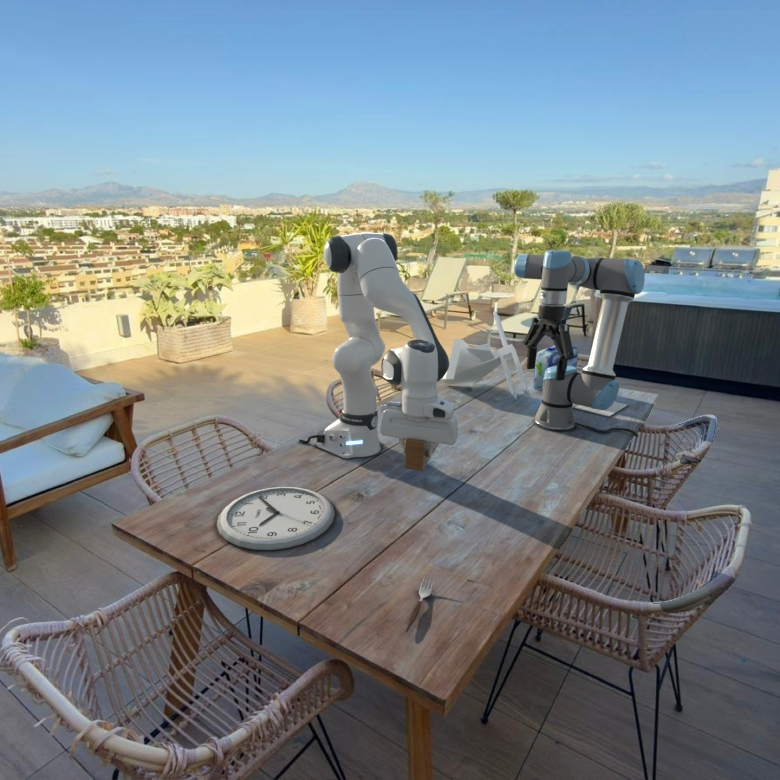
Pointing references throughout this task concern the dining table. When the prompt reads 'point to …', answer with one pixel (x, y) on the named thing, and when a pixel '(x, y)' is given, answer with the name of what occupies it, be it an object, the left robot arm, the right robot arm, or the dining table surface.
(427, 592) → the fork
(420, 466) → the bar
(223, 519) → the wall clock
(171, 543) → the dining table surface
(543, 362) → the lunch box
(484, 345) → the white plastic object
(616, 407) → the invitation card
